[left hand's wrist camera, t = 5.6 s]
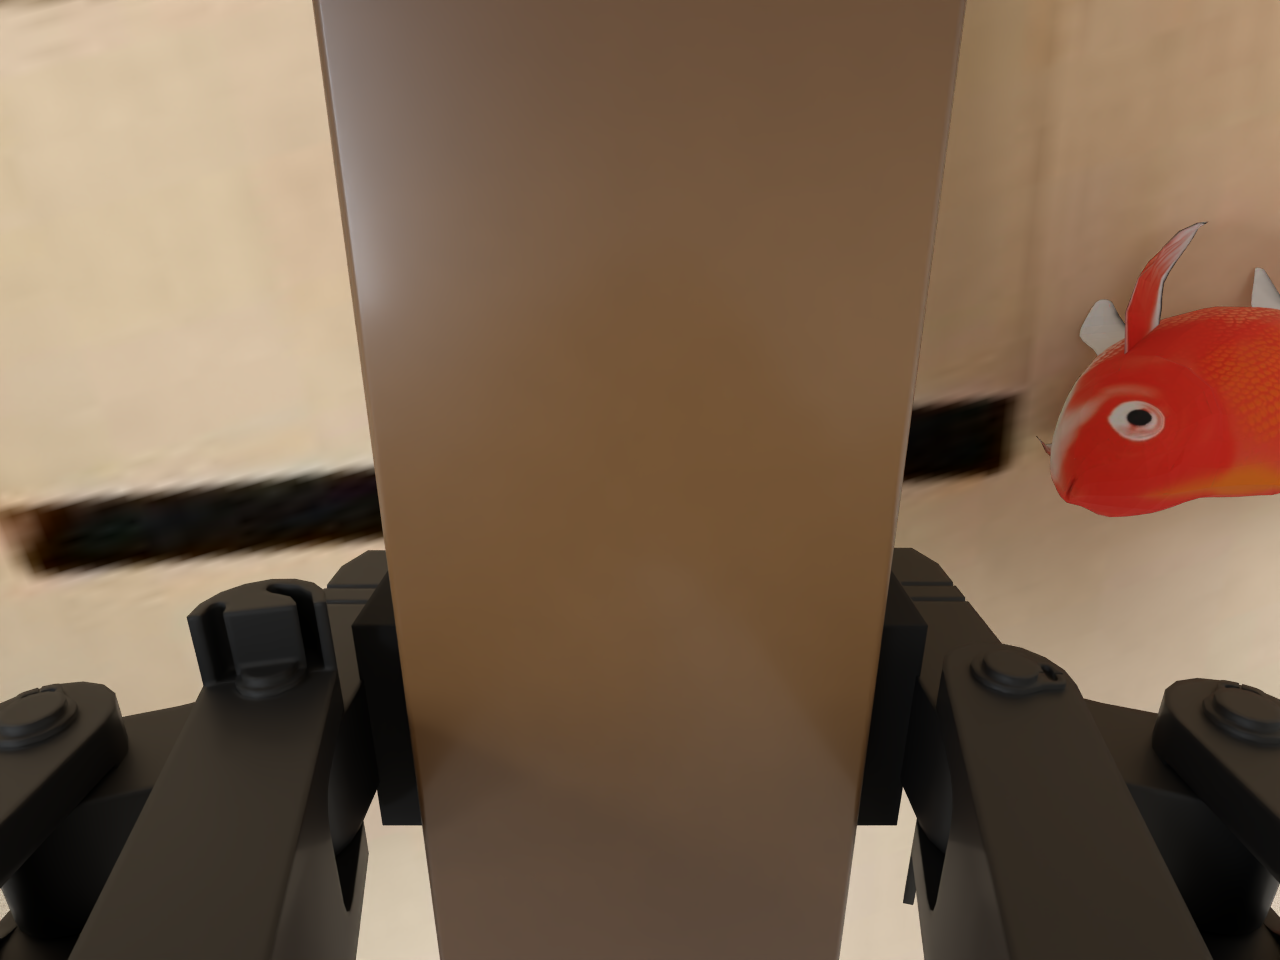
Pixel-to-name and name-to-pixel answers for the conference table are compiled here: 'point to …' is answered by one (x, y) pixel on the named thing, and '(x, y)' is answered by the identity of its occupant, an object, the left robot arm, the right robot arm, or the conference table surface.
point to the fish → (1172, 401)
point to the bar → (639, 441)
